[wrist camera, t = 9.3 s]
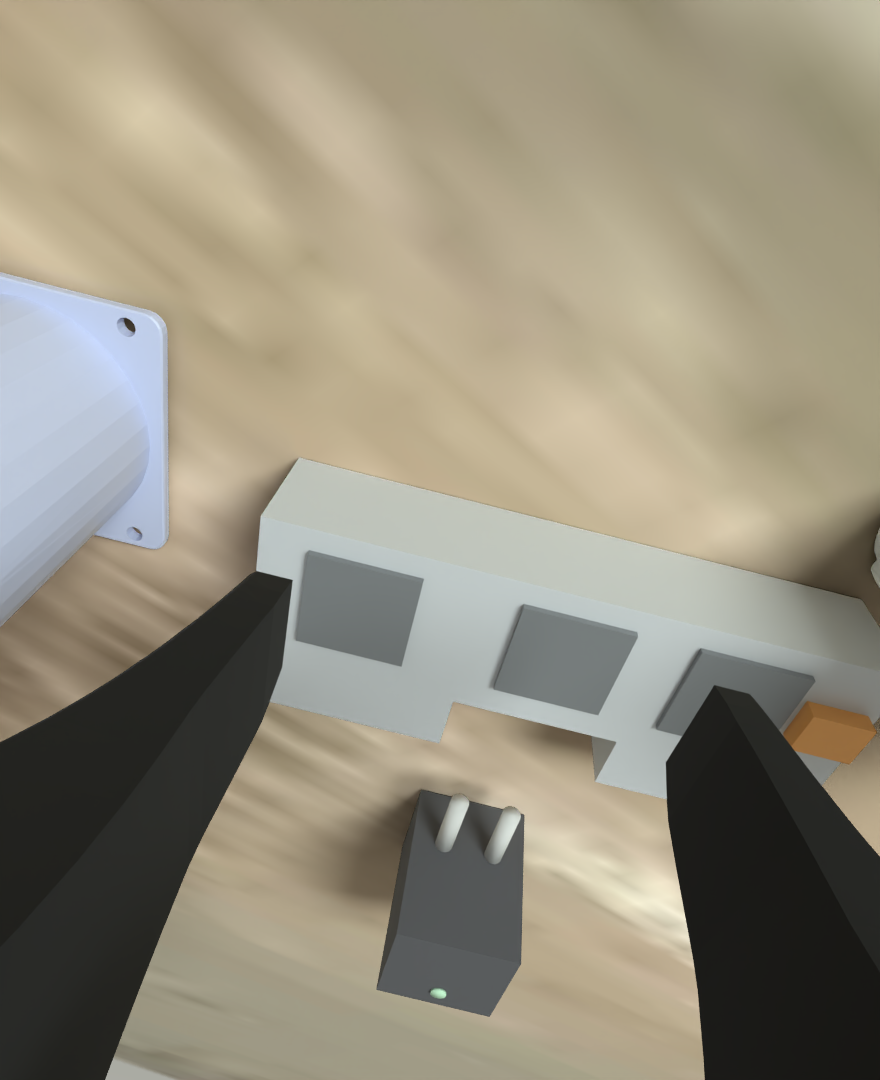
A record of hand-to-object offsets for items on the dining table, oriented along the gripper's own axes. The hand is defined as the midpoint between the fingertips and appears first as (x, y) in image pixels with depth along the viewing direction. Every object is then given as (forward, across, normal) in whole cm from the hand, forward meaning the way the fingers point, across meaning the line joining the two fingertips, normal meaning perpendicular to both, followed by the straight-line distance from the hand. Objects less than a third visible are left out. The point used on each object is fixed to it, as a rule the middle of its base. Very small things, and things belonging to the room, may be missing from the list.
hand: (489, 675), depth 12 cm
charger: (+10, -3, +17) cm, 20 cm away
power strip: (+10, -3, +6) cm, 12 cm away
